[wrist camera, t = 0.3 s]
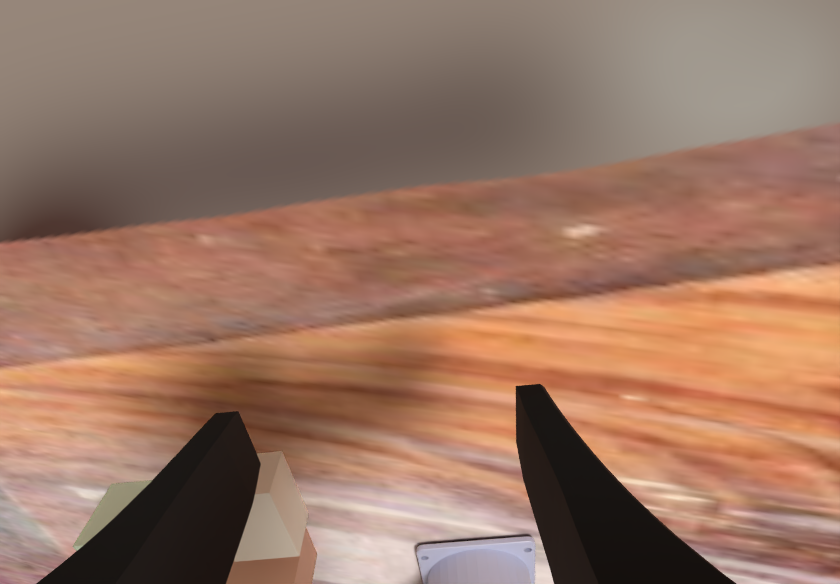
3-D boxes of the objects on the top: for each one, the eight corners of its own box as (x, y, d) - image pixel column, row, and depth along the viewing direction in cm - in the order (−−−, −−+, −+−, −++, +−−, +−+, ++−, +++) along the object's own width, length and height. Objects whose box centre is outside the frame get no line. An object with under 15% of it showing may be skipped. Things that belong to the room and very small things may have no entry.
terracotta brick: (306, 525, 31) (293, 588, 28) (317, 552, 33) (306, 615, 30) (218, 532, 32) (195, 596, 28) (234, 558, 33) (213, 622, 30)
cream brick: (309, 510, 31) (299, 556, 28) (249, 515, 31) (234, 561, 28) (283, 447, 28) (269, 493, 25) (217, 454, 28) (196, 499, 25)
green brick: (198, 535, 32) (173, 598, 28) (153, 538, 32) (121, 602, 29) (163, 477, 29) (129, 541, 25) (112, 482, 29) (72, 546, 25)
